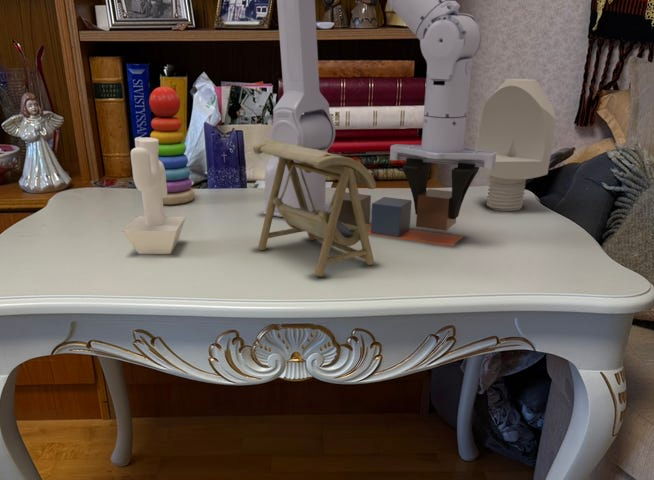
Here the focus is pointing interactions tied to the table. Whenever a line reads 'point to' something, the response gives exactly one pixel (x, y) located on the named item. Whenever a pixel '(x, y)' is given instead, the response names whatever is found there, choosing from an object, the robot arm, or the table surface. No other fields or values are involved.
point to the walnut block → (434, 210)
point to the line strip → (426, 237)
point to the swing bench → (315, 221)
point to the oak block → (348, 213)
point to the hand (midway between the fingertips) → (436, 215)
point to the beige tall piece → (515, 140)
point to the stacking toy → (171, 145)
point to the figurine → (151, 202)
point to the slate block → (391, 216)
